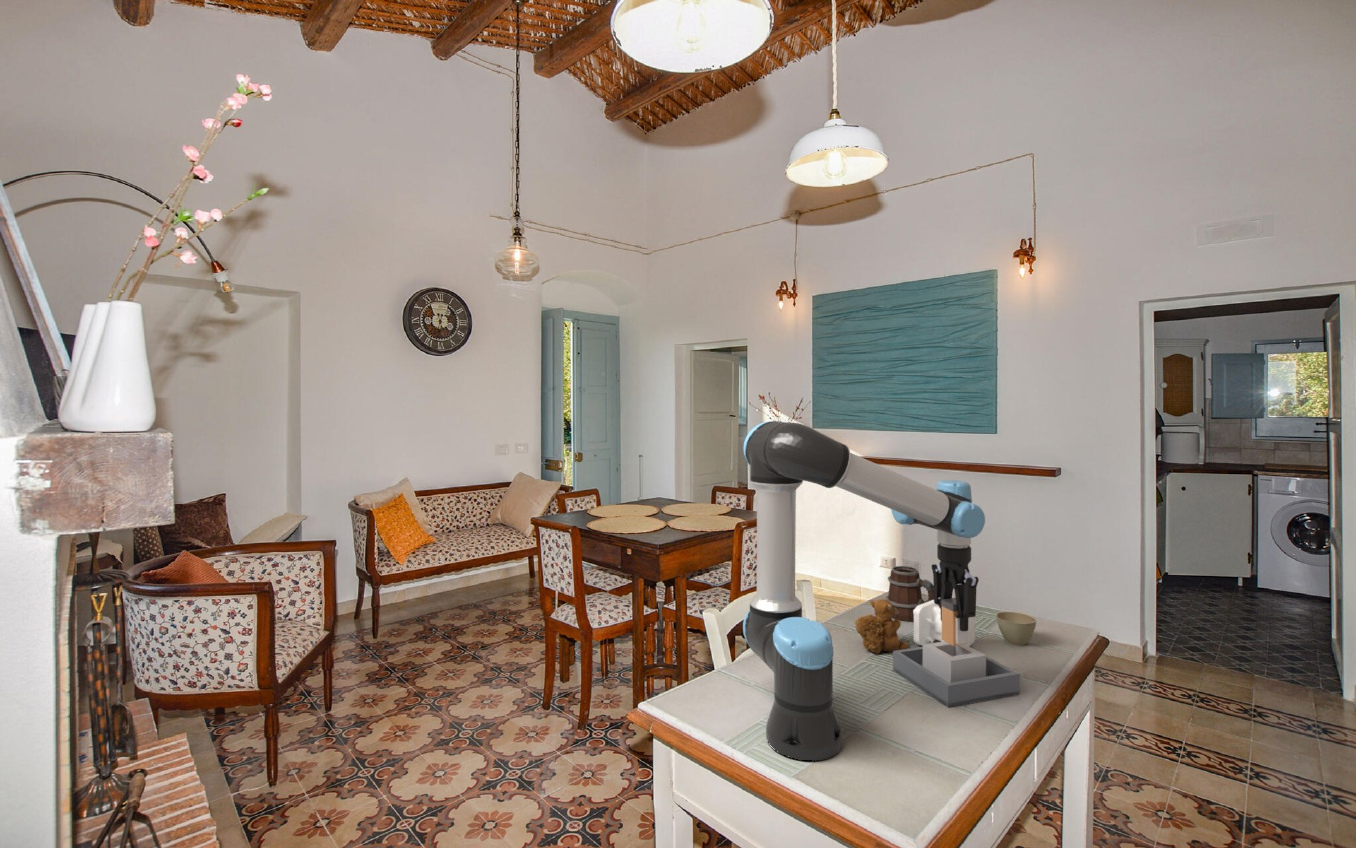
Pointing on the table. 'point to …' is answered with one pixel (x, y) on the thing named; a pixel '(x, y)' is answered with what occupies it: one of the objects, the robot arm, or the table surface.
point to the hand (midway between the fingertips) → (954, 639)
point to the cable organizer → (934, 624)
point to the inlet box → (956, 674)
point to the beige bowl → (1016, 627)
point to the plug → (949, 620)
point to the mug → (907, 592)
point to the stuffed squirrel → (880, 629)
